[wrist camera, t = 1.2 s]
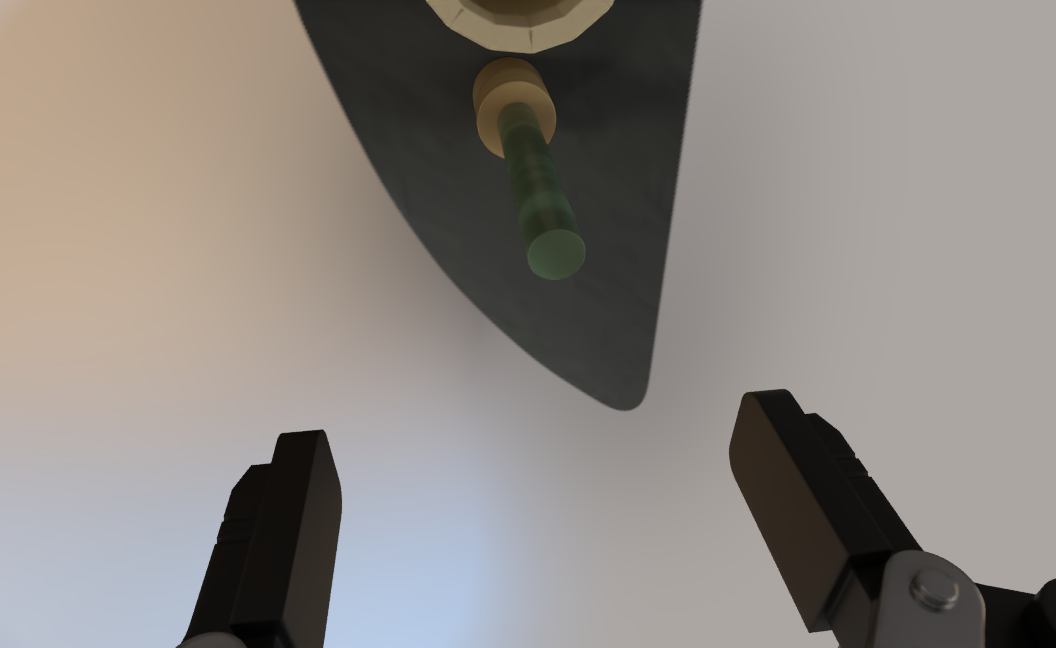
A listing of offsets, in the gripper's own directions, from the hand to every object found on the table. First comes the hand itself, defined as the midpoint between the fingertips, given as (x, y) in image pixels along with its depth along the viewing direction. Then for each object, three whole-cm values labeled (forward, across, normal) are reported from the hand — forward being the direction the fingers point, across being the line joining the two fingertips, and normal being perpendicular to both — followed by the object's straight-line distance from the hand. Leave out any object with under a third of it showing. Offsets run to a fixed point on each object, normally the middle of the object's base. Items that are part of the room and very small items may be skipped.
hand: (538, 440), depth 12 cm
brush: (+27, -2, +2) cm, 28 cm away
